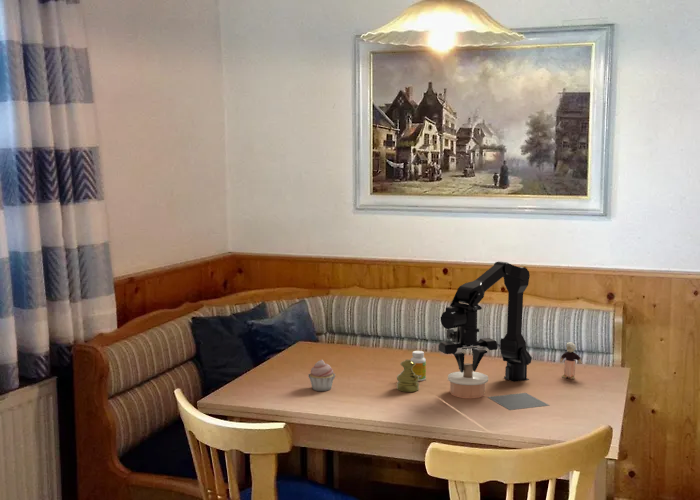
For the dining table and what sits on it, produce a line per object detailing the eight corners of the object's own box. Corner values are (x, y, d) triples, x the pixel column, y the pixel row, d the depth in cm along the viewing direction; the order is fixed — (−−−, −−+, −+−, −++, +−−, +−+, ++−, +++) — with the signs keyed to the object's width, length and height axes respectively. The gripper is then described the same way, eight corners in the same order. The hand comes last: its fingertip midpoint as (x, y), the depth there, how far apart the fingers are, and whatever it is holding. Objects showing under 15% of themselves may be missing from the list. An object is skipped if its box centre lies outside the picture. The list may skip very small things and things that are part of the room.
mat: (525, 394, 255) (525, 392, 255) (549, 406, 242) (549, 405, 242) (487, 398, 251) (487, 396, 250) (509, 411, 237) (509, 410, 237)
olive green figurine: (412, 393, 256) (412, 363, 255) (392, 390, 260) (392, 360, 259) (422, 388, 262) (423, 359, 261) (403, 384, 266) (403, 356, 265)
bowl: (474, 388, 262) (474, 373, 261) (490, 397, 251) (490, 382, 251) (444, 391, 258) (445, 376, 258) (459, 401, 248) (460, 385, 247)
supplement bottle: (424, 381, 270) (425, 354, 269) (409, 380, 271) (409, 353, 270) (426, 377, 275) (426, 350, 274) (411, 376, 276) (411, 349, 275)
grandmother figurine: (558, 378, 274) (559, 342, 272) (559, 375, 277) (560, 340, 276) (580, 380, 271) (581, 344, 269) (582, 377, 274) (583, 341, 273)
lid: (476, 372, 262) (476, 358, 262) (495, 382, 250) (495, 367, 250) (441, 376, 258) (441, 361, 258) (458, 386, 246) (459, 371, 246)
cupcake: (341, 388, 262) (341, 359, 261) (321, 394, 256) (321, 364, 254) (322, 383, 269) (321, 354, 268) (302, 389, 262) (301, 359, 261)
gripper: (482, 317, 263) (481, 363, 265) (431, 321, 257) (431, 368, 259) (498, 324, 252) (498, 371, 254) (446, 328, 246) (445, 376, 248)
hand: (467, 371), depth 254 cm, fingers open, 4 cm apart
